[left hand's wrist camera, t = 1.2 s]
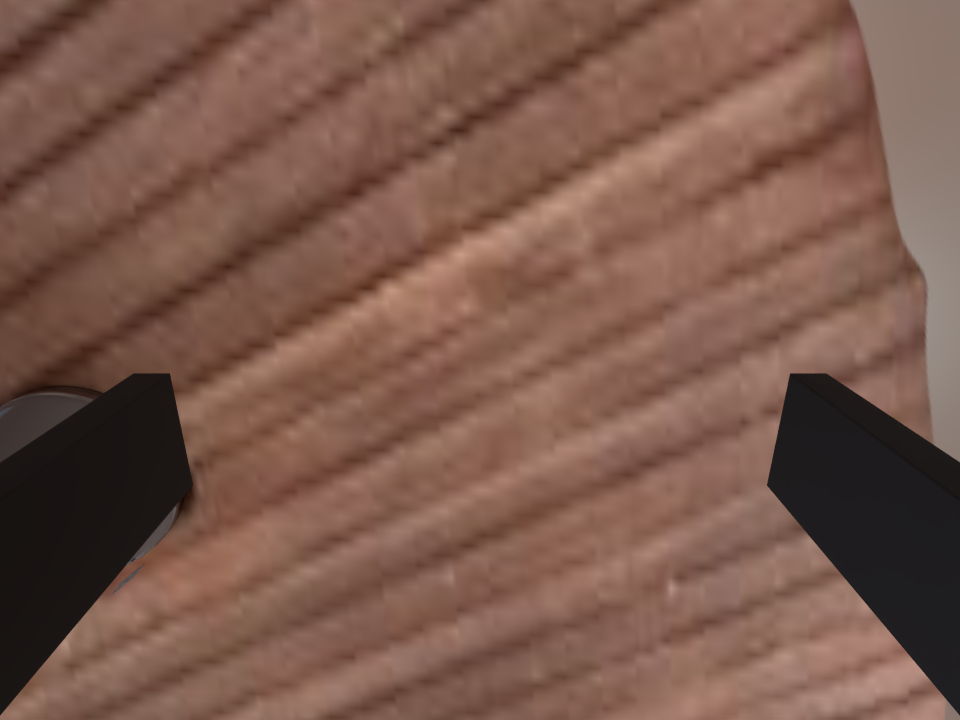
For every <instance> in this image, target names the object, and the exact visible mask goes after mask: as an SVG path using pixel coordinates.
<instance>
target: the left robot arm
mask: <svg viewBox="0 0 960 720" xmlns="http://www.w3.org/2000/svg"><path fill="white" fill-rule="evenodd" d="M192 486H193V483H192V478H191V473H190V469H189V464H188V459H187V454H186V449H185V444H184V440H183V435H182V430H181V425H180V420H179V416H178V411H177V406H176V401H175V396H174V391H173V387H172V382H171V377H170V374H132V375H131V376H129V377H128V378H126V379H125V380H123V381H122V382H120V383H119V384H117V385H116V386H114V387H113V388H111V389H110V390H108V391H107V392H105V393H104V394H101V393H98V392H95V391H91V390H87V389H82V388H76V387H47V388H41V389H36V390H33V391H30V392H27V393H25V394H23V395H20V396H18V397H17V398H15V399H13V400H11V401H9V402H7V403H6V404H4V405H2V406H1V407H0V715H1V714H2V713H3V711H4V710H5V709H6V708H7V707H8V705H9V704H10V703H11V702H12V701H13V699H14V698H15V697H16V696H17V695H18V693H19V692H20V691H21V690H22V689H23V688H24V686H25V685H26V684H27V683H28V682H29V680H30V679H31V678H32V677H33V676H34V674H35V673H36V672H37V671H38V670H39V668H40V667H41V666H42V665H43V664H44V662H45V661H46V660H47V659H48V658H49V656H50V655H51V654H52V653H53V652H54V651H55V649H56V648H57V647H58V646H59V645H60V643H61V642H62V641H63V640H64V639H65V637H66V636H67V635H68V634H69V633H70V631H71V630H72V629H73V628H74V627H75V625H76V624H77V623H78V622H79V621H80V619H81V618H82V617H83V616H84V615H85V614H86V612H87V611H88V610H89V609H90V608H91V606H92V605H93V604H94V603H95V602H96V600H97V599H98V598H99V597H100V596H101V594H102V593H103V592H104V591H105V590H106V588H107V587H108V586H109V585H110V584H111V583H112V581H113V580H114V579H115V578H116V577H117V575H118V574H119V573H120V572H121V571H122V569H123V568H124V567H125V566H126V565H127V564H129V563H131V562H133V561H135V560H137V559H139V558H140V557H142V556H143V555H145V554H146V553H147V552H148V551H150V550H151V549H152V548H153V547H155V546H156V545H157V544H158V543H159V542H160V541H161V540H162V539H163V537H164V536H165V535H166V534H167V532H168V531H169V530H170V529H171V528H172V526H173V525H174V523H175V522H176V520H177V518H178V516H179V514H180V511H181V508H182V504H183V499H184V495H185V494H186V493H187V492H188V491H189V489H190V488H191V487H192ZM767 486H768V487H769V488H770V489H771V491H772V492H773V493H774V494H775V495H776V497H777V498H778V499H779V500H780V501H781V503H782V504H783V505H784V506H785V507H786V509H787V510H788V511H789V512H790V513H791V515H792V516H793V517H794V518H795V519H796V520H797V522H798V523H799V524H800V525H801V526H802V528H803V529H804V530H805V531H806V532H807V534H808V535H809V536H810V537H811V538H812V540H813V541H814V542H815V543H816V544H817V546H818V547H819V548H820V549H821V550H822V551H823V553H824V554H825V555H826V556H827V557H828V559H829V560H830V561H831V562H832V563H833V565H834V566H835V567H836V568H837V569H838V571H839V572H840V573H841V574H842V575H843V577H844V578H845V579H846V580H847V581H848V583H849V584H850V585H851V586H852V587H853V588H854V590H855V591H856V592H857V593H858V594H859V596H860V597H861V598H862V599H863V600H864V602H865V603H866V604H867V605H868V606H869V608H870V609H871V610H872V611H873V612H874V614H875V615H876V616H877V617H878V618H879V620H880V621H881V622H882V623H883V624H884V625H885V627H886V628H887V629H888V630H889V631H890V633H891V634H892V635H893V636H894V637H895V639H896V640H897V641H898V642H899V643H900V645H901V646H902V647H903V648H904V649H905V651H906V652H907V653H908V654H909V655H910V656H911V658H912V659H913V660H914V661H915V662H916V664H917V665H918V666H919V667H920V668H921V670H922V671H923V672H924V673H925V674H926V676H927V677H928V678H929V679H930V680H931V682H932V683H933V684H934V685H935V686H936V688H937V689H938V690H939V691H940V692H941V693H942V695H943V696H944V697H945V698H946V699H947V701H948V702H949V703H950V704H951V705H952V707H953V708H954V709H955V710H956V711H957V713H958V714H959V715H960V462H958V461H957V460H955V459H954V458H952V457H951V456H949V455H948V454H946V453H945V452H943V451H942V450H940V449H939V448H937V447H936V446H934V445H933V444H931V443H930V442H928V441H927V440H925V439H924V438H922V437H921V436H919V435H918V434H916V433H915V432H913V431H912V430H910V429H909V428H907V427H906V426H904V425H903V424H901V423H900V422H898V421H897V420H895V419H894V418H892V417H891V416H889V415H888V414H886V413H885V412H883V411H882V410H880V409H879V408H877V407H876V406H874V405H873V404H871V403H870V402H868V401H867V400H865V399H864V398H862V397H861V396H859V395H858V394H856V393H855V392H853V391H852V390H850V389H849V388H847V387H846V386H844V385H843V384H841V383H840V382H838V381H837V380H835V379H834V378H832V377H831V376H829V375H828V374H790V377H789V382H788V387H787V391H786V396H785V401H784V406H783V411H782V416H781V420H780V425H779V430H778V435H777V440H776V444H775V449H774V454H773V459H772V464H771V469H770V473H769V478H768V483H767ZM143 565H144V564H143ZM143 565H142V566H143ZM142 566H141V567H142ZM141 567H140V568H138V569H137V570H136V571H135V572H134V573H132V574H131V575H130V576H129V577H127V578H126V579H125V580H124V581H122V583H121V584H120V585H119V586H118V587H117V589H116V590H115V591H114V592H113V593H115V592H116V591H117V590H118V589H119V588H121V587H122V586H123V585H124V584H126V583H127V582H128V581H129V580H131V579H132V578H133V577H134V576H135V575H136V573H137V572H138V571H139V570H140V569H141ZM113 593H112V594H113Z"/></svg>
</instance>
